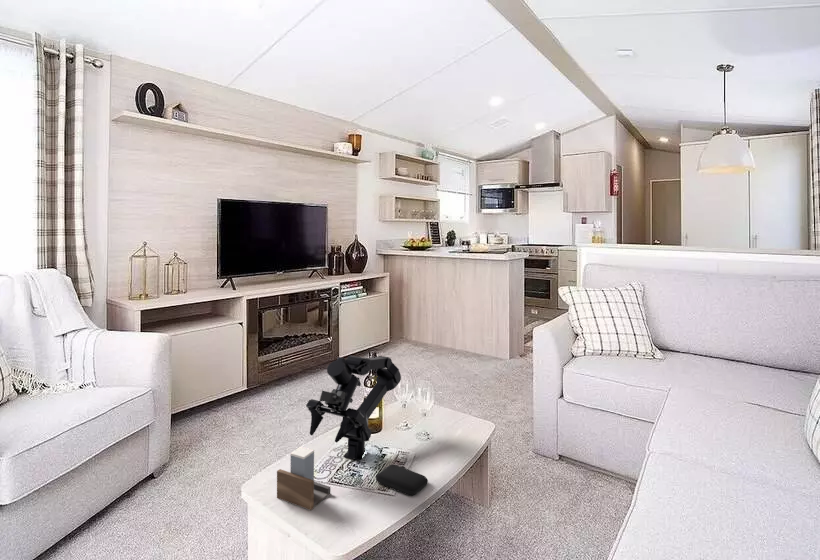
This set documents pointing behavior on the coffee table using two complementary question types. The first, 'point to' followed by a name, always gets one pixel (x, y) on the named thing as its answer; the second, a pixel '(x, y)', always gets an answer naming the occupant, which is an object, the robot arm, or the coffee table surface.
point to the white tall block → (303, 462)
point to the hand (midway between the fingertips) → (323, 438)
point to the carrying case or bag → (402, 479)
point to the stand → (300, 490)
